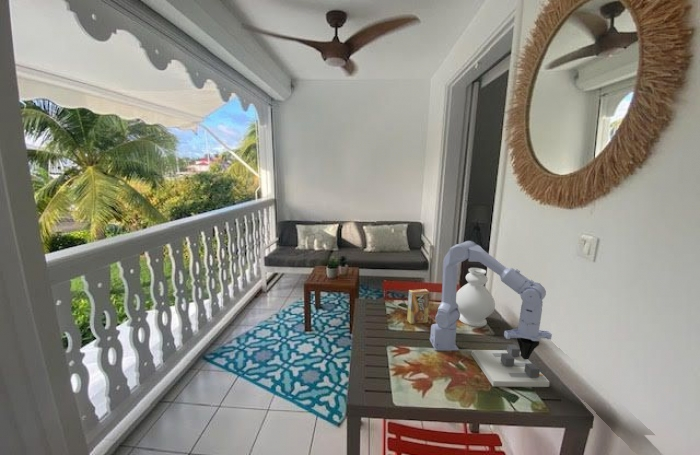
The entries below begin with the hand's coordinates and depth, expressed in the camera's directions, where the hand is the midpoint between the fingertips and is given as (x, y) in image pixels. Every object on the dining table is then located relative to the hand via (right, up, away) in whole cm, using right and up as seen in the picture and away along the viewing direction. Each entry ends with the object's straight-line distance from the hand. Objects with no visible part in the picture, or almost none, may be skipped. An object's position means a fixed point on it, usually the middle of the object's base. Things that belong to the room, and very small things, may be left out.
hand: (524, 357), depth 95 cm
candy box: (-27, -1, +40) cm, 48 cm away
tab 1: (+3, -4, +12) cm, 13 cm away
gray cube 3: (+3, -6, +1) cm, 7 cm away
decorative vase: (0, -1, +42) cm, 42 cm away
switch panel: (-2, -7, +7) cm, 10 cm away
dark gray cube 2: (-2, -5, +6) cm, 8 cm away
